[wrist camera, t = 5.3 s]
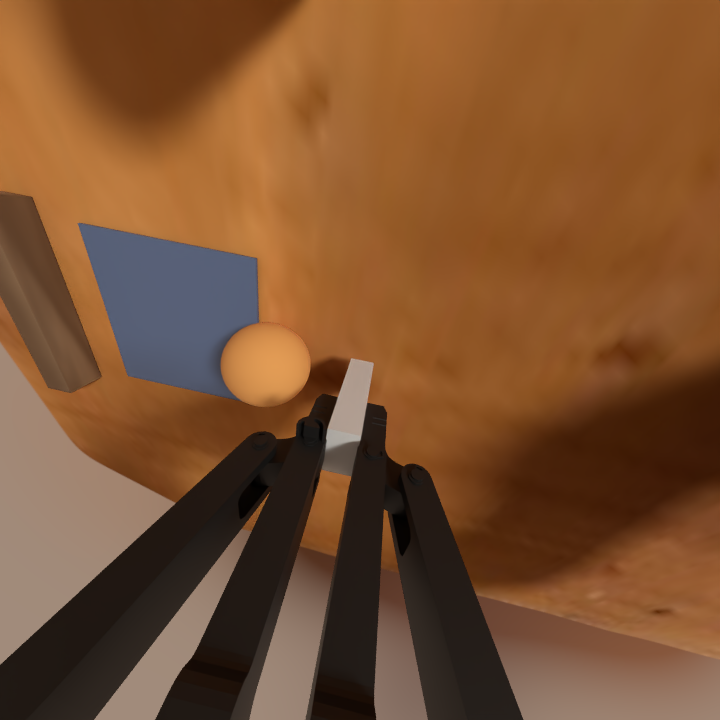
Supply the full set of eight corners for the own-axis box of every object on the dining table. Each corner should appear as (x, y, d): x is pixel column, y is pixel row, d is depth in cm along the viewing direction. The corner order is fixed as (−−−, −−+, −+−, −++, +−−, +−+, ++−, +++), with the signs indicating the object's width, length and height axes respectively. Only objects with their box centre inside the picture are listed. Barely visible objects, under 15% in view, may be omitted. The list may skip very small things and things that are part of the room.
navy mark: (257, 258, 17) (255, 258, 16) (261, 403, 22) (260, 405, 22) (81, 223, 17) (77, 223, 17) (129, 374, 23) (128, 375, 23)
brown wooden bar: (31, 196, 17) (-24, 193, 15) (101, 377, 24) (71, 393, 21) (2, 191, 17) (-57, 187, 15) (80, 372, 24) (48, 387, 21)
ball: (192, 332, 14) (249, 303, 18) (205, 412, 16) (252, 369, 21) (293, 356, 13) (324, 320, 18) (289, 434, 16) (317, 385, 21)
